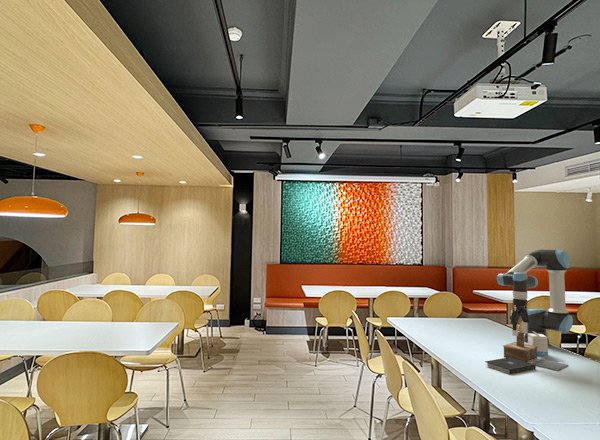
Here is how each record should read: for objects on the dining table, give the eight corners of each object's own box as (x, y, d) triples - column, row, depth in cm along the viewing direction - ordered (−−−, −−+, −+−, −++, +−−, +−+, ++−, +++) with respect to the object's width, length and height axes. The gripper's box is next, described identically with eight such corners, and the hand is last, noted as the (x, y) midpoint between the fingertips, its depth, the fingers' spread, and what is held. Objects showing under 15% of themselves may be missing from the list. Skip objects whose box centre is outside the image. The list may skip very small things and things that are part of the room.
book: (510, 375, 195) (510, 369, 195) (484, 366, 208) (484, 361, 208) (536, 370, 204) (535, 364, 205) (509, 362, 218) (509, 357, 218)
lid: (515, 344, 236) (514, 328, 237) (537, 349, 227) (537, 332, 227) (503, 348, 226) (503, 331, 227) (526, 353, 216) (526, 336, 217)
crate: (515, 352, 236) (515, 343, 236) (536, 357, 226) (536, 347, 227) (503, 357, 226) (503, 346, 226) (525, 362, 216) (525, 351, 217)
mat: (542, 359, 222) (542, 358, 222) (568, 365, 212) (568, 364, 212) (531, 364, 212) (531, 363, 212) (558, 371, 202) (558, 370, 202)
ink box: (548, 356, 230) (548, 334, 231) (533, 355, 232) (532, 333, 232) (542, 352, 238) (542, 331, 239) (527, 351, 240) (527, 330, 241)
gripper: (521, 296, 239) (521, 331, 237) (504, 298, 223) (504, 335, 222) (535, 298, 233) (535, 333, 232) (518, 300, 218) (518, 338, 216)
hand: (520, 334), depth 227 cm, fingers open, 13 cm apart
